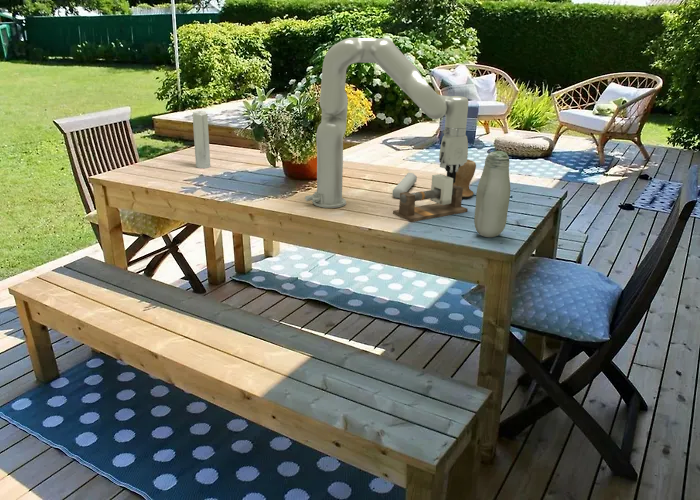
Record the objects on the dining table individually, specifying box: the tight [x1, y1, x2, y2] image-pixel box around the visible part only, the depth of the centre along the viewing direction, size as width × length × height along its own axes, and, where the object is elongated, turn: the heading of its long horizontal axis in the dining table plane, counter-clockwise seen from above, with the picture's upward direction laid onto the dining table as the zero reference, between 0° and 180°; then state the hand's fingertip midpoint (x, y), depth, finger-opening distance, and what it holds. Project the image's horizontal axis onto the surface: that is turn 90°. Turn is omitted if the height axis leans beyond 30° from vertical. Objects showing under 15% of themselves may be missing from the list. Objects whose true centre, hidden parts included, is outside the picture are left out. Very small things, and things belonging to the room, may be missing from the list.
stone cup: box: [453, 159, 477, 198], centre depth 245 cm, size 15×12×15 cm
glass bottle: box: [473, 150, 511, 238], centre depth 195 cm, size 10×10×28 cm
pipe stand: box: [392, 185, 468, 223], centre depth 221 cm, size 26×11×9 cm, turn 122°
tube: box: [392, 172, 418, 199], centre depth 249 cm, size 5×5×25 cm
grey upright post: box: [192, 110, 211, 169], centre depth 276 cm, size 6×6×25 cm
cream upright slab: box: [429, 173, 453, 205], centre depth 222 cm, size 4×7×10 cm, turn 32°
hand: (450, 182), depth 223 cm, fingers closed
